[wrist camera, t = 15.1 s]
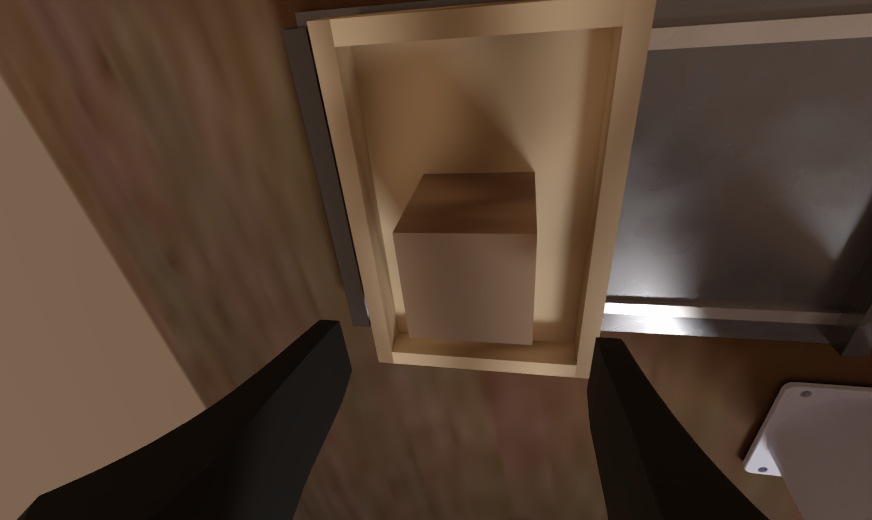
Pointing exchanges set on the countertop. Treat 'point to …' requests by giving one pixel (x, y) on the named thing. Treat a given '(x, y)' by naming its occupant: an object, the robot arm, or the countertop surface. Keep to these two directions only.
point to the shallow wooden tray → (489, 149)
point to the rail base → (713, 173)
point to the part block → (469, 257)
